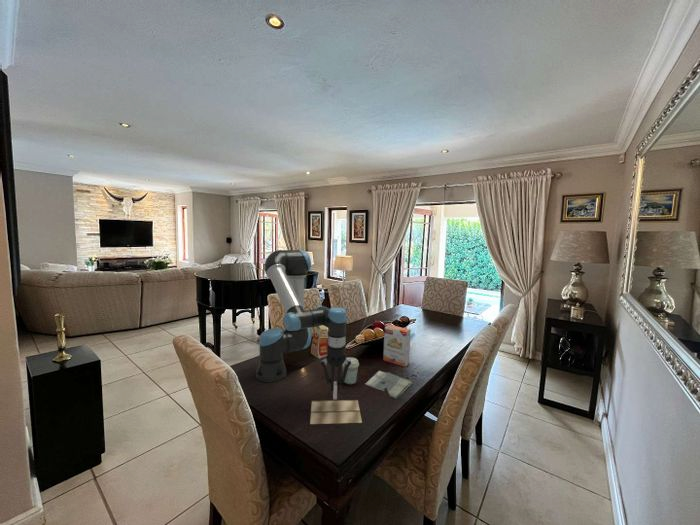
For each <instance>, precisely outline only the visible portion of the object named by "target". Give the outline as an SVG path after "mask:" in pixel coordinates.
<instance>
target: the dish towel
mask: <svg viewBox="0 0 700 525" xmlns="http://www.w3.org/2000/svg"><path fill="white" fill-rule="evenodd" d="M364 384H365V385H367V386H368V387H372V388H374V389H377V390H380V391H383V392H385V389H386V391H387V392H388V395H389V398H391V399H394V400H397V399H398V398H399V397H401V396H402V394H403V393H405V392H404V391H405V390H406V389H407V388H408V387H409V388H410V386H411V385H412V384H413V382H412V381H411V380H409V379H406V378H404V377H401V376H398V375H396V374H393V373H391V372H388V371H387V372H384V371H381V370H378V371H377V372H376V373H375V374H374V375H373V376H372V377H371V378H370V379H368V381H367V382H366V383H364ZM409 388H408V389H409ZM408 389H407V390H408ZM407 390H406V391H407Z"/></svg>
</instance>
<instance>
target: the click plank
mask: <svg viewBox="0 0 700 525" xmlns="http://www.w3.org/2000/svg"><path fill="white" fill-rule="evenodd" d="M326 411H360V405H359V400H358V399H343V400H342V399H341V400H340V399H332V400H311V407H310V413H311V412H326Z"/></svg>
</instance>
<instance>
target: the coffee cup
mask: <svg viewBox="0 0 700 525" xmlns="http://www.w3.org/2000/svg"><path fill="white" fill-rule="evenodd" d="M346 358H347V359H350V360H351V364H350V366H349V367H348V371H347V374H346V378H345V381H344V383H345V384H346V385H353V384H356V383H357V377H358V369H359V366H360V363H359V360H358V359H357V358H356V357H352V356H351V357H346ZM341 367H342V371H343V370H344V367H345V362H344V363H343V364H342V365H341ZM344 383H343V384H344Z"/></svg>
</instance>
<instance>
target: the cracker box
mask: <svg viewBox="0 0 700 525" xmlns="http://www.w3.org/2000/svg"><path fill="white" fill-rule="evenodd" d="M383 338H384V339H383V355H382V356H383V359H382V360H383V361H384V362H387V363H389V364H390V363H391V364H394V365H397V366H400V367H404V368H406V367H407V366H408V365H409V364H410V363H409V362H410V349H411V348H410V347H411V329H410V328H409V329H408V328H404V327H401V326H397V325H392V324H388V325H385V327H384V337H383Z"/></svg>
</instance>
